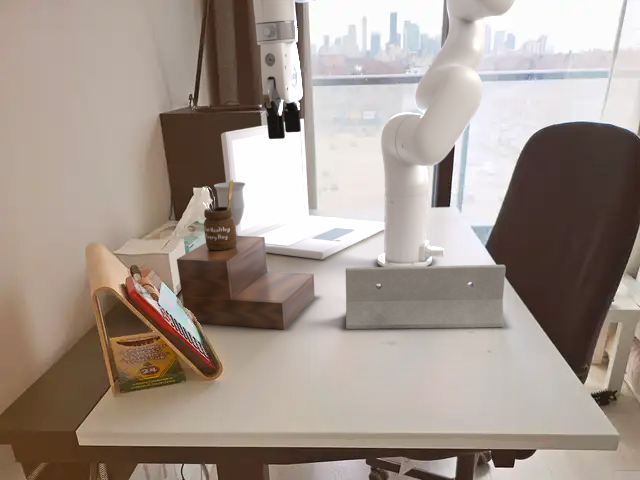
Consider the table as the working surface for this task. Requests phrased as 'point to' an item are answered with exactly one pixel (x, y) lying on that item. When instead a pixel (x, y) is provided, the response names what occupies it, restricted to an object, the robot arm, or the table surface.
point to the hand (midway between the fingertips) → (285, 135)
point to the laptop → (284, 196)
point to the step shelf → (241, 287)
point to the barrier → (425, 297)
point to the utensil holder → (220, 226)
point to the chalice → (232, 199)
